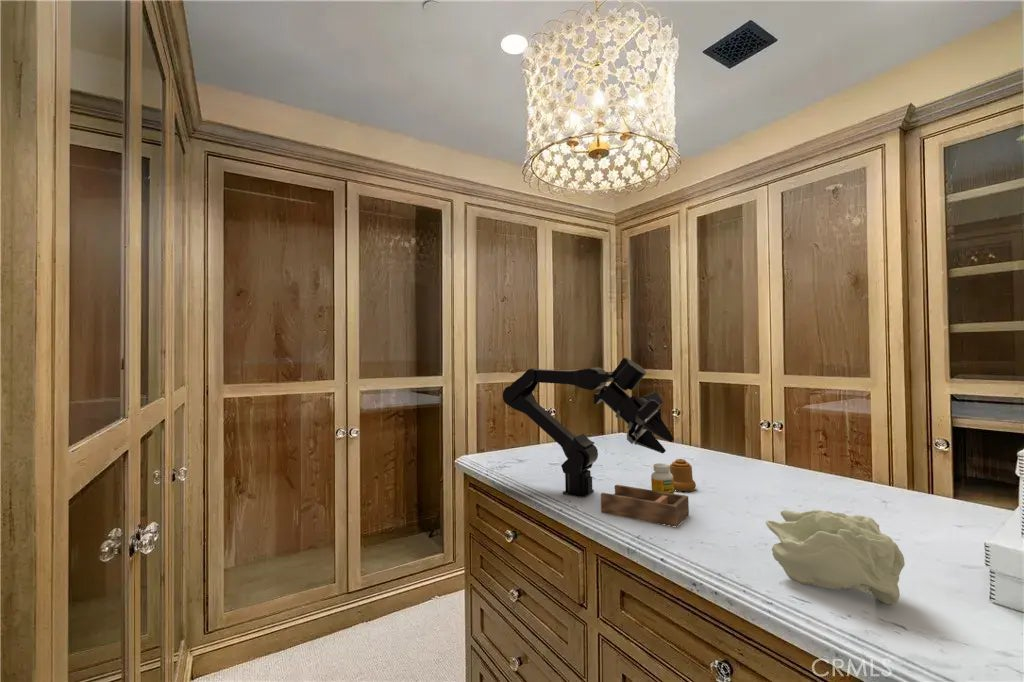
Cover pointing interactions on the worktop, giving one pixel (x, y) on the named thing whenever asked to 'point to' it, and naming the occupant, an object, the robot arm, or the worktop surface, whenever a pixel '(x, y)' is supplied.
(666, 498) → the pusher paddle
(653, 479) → the supplement bottle
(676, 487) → the ornamental finial
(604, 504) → the pusher lane
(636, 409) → the robot arm
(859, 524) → the wavy plaster lump
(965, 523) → the worktop surface
